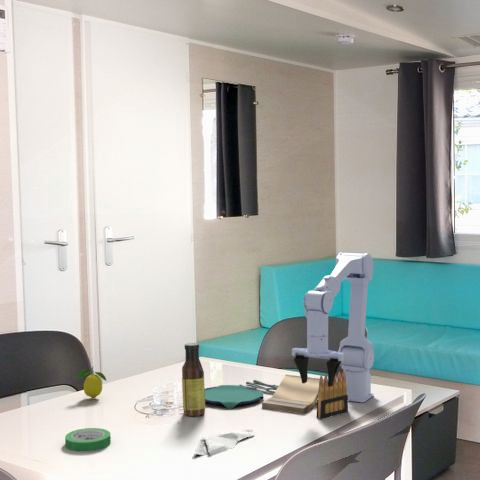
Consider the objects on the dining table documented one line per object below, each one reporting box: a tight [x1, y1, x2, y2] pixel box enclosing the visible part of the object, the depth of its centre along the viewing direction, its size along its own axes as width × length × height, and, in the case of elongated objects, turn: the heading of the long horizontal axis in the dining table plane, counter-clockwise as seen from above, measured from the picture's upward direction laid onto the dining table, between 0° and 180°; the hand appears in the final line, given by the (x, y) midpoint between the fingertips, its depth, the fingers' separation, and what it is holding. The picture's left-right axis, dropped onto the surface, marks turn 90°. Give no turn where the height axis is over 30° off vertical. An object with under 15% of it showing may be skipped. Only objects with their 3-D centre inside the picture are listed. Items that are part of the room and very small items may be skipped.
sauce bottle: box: [181, 342, 206, 417], centre depth 219 cm, size 7×6×20 cm
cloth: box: [191, 429, 255, 460], centre depth 195 cm, size 26×14×2 cm, turn 134°
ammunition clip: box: [316, 370, 349, 420], centre depth 217 cm, size 11×2×12 cm, turn 128°
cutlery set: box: [205, 379, 279, 410], centre depth 238 cm, size 20×30×2 cm, turn 135°
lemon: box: [77, 365, 107, 400], centre depth 234 cm, size 7×6×10 cm
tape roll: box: [64, 427, 112, 452], centre depth 194 cm, size 11×11×3 cm
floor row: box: [261, 396, 313, 415], centre depth 224 cm, size 6×13×2 cm, turn 62°
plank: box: [271, 374, 324, 408], centre depth 232 cm, size 11×13×2 cm
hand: (317, 384), depth 213 cm, fingers open, 7 cm apart
